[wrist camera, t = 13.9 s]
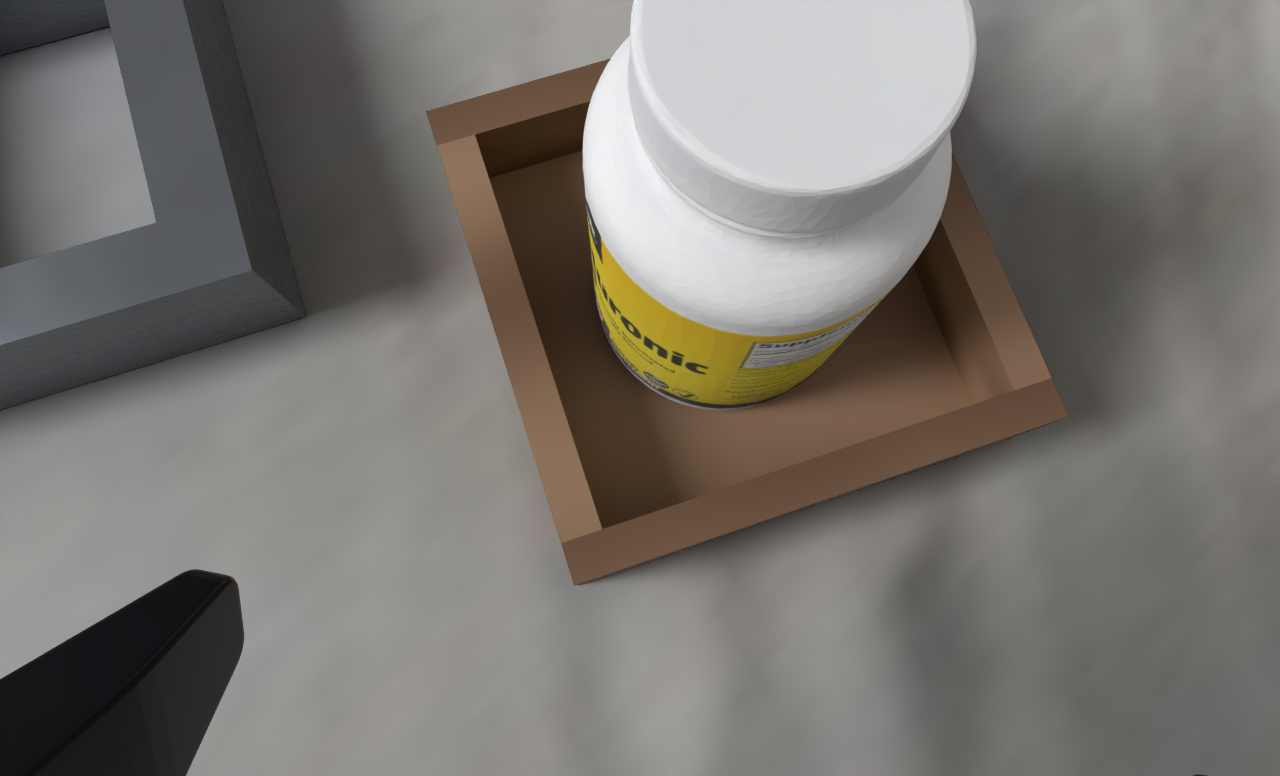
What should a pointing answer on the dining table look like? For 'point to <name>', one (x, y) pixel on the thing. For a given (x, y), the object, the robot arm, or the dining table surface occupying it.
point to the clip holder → (183, 206)
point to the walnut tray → (709, 439)
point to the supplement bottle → (765, 181)
